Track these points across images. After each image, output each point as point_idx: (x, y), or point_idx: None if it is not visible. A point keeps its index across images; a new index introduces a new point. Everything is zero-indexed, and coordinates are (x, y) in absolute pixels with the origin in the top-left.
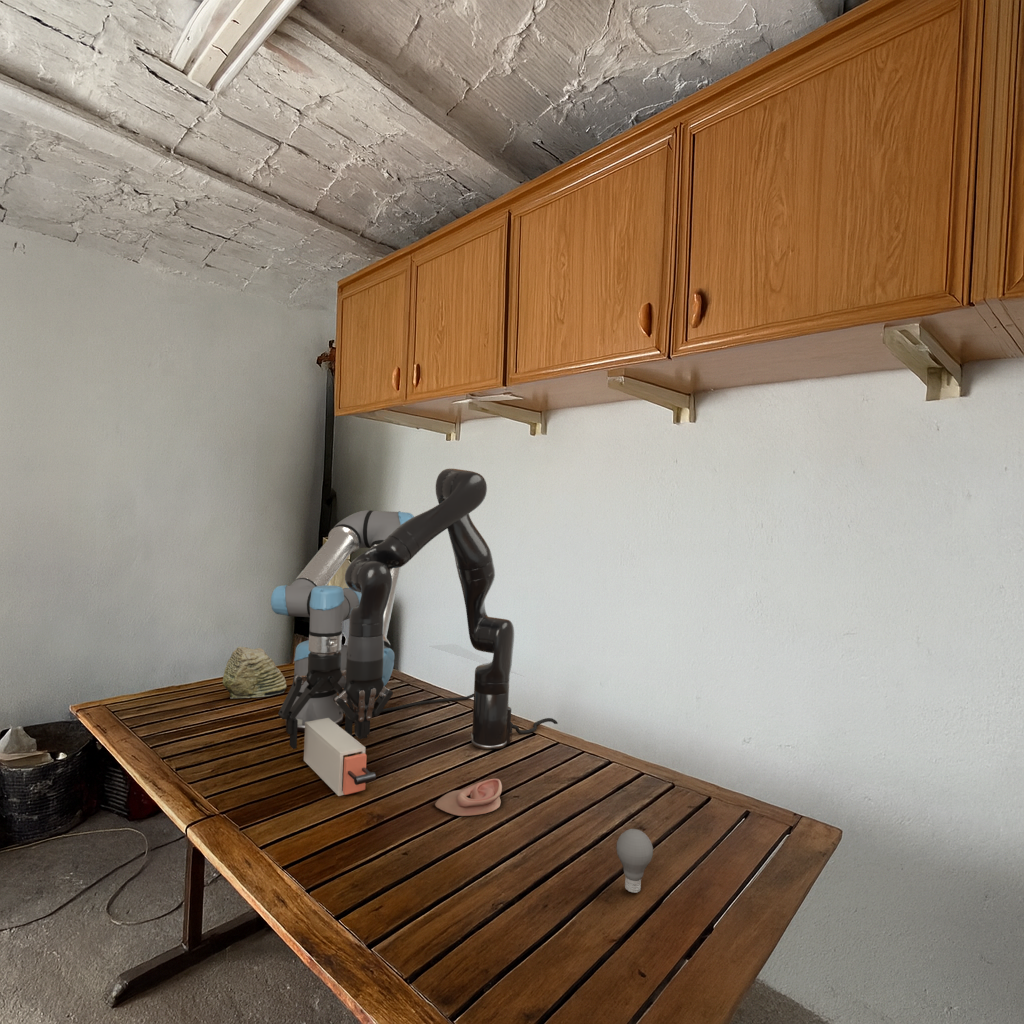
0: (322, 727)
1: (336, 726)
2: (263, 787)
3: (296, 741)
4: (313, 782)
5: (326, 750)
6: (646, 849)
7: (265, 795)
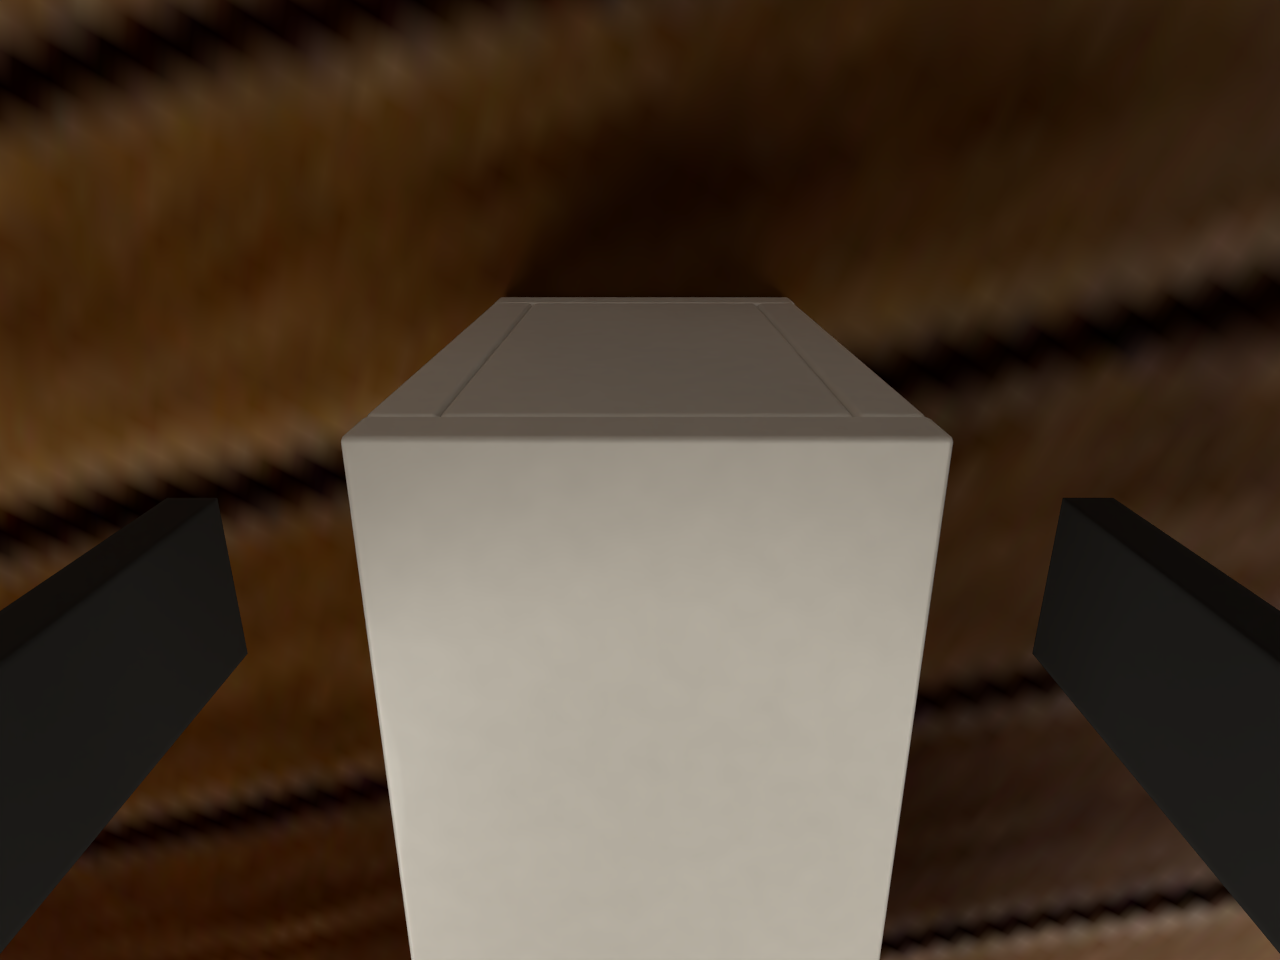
0: (582, 890)
1: (833, 947)
2: None
3: (189, 714)
4: None
5: None
6: None
7: None
